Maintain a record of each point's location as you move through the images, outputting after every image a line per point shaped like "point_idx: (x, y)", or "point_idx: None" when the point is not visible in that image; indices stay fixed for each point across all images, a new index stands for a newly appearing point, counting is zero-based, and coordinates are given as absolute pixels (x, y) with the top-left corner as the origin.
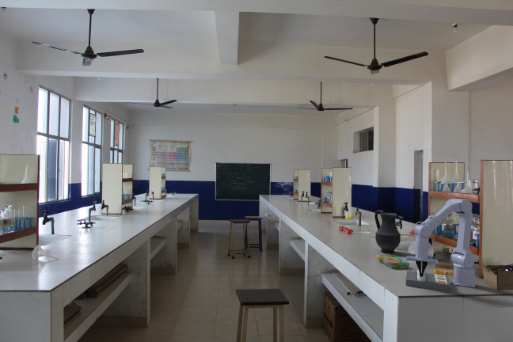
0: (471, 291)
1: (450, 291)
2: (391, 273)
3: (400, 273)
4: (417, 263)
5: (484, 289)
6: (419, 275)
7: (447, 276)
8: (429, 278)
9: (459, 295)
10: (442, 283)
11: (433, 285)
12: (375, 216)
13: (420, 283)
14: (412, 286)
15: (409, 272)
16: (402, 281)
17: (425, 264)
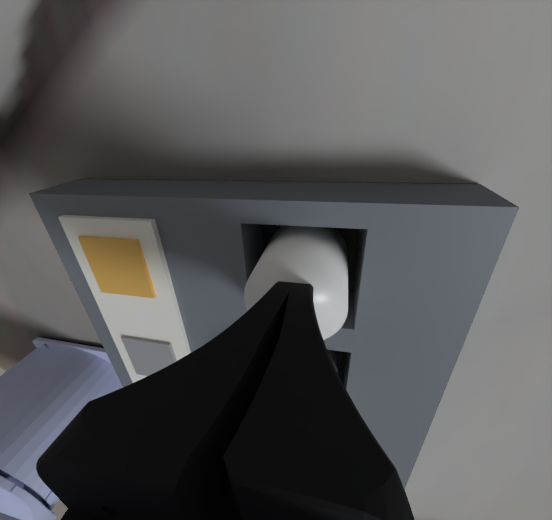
0: (17, 266)
1: (82, 179)
2: (511, 476)
3: (432, 479)
4: (365, 506)
5: (3, 327)
6: None
7: None
8: None
9: (9, 111)
10: (97, 218)
11: (185, 191)
12: None
13: (313, 195)
14: (400, 183)
15: (391, 457)
16: (474, 319)
17: (89, 434)
